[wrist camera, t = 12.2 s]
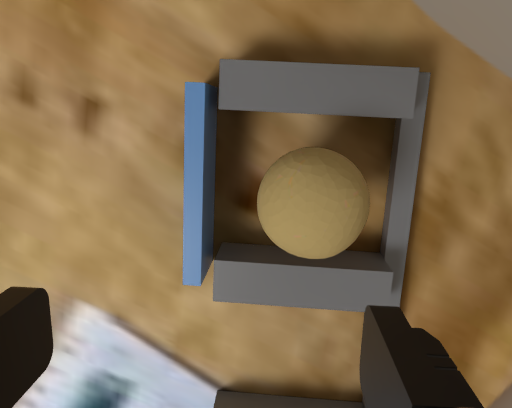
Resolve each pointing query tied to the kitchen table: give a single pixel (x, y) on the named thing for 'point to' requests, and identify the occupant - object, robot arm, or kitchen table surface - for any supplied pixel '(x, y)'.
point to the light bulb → (313, 203)
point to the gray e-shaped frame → (273, 257)
